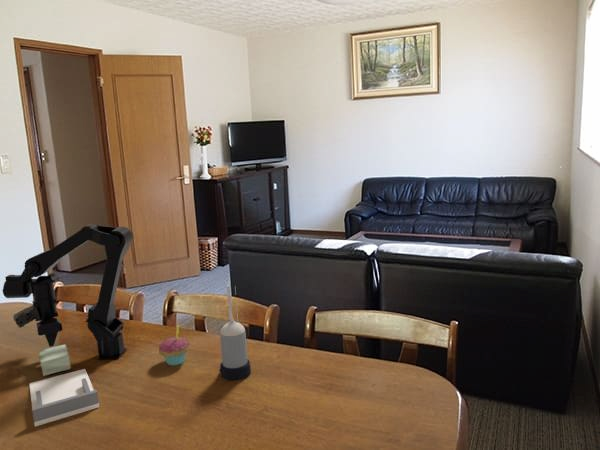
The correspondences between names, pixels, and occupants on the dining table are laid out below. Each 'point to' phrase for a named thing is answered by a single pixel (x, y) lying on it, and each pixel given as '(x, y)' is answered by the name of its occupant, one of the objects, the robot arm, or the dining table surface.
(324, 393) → the dining table surface
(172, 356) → the cupcake
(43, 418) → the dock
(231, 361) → the humidifier
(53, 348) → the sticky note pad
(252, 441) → the dining table surface
